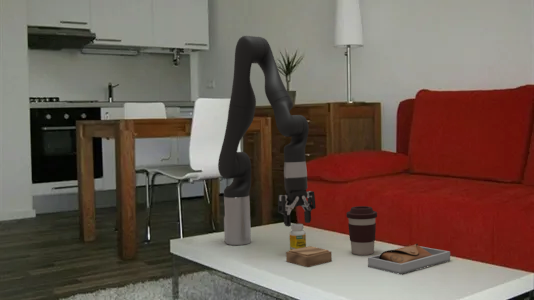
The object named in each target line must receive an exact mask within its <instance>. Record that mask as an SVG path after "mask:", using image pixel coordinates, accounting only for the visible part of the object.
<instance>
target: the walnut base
mask: <svg viewBox="0 0 534 300" xmlns="http://www.w3.org/2000/svg"><path fill="white" fill-rule="evenodd" d="M285 254H286V255H285V257H286V260H285V261H286V262H287V263H291V264H294V265H298V266H301V267H307V268H310V267H313V266H317V265H321V264H322V265H323V264H327V263H330V262H333V261H332V259H333V258H332V257H333V256H332V251H329V249H324V248H321V247H316V246H310V245H309V246H308V245H307V246H306V247H303V248H298V249H293V250H288V251H285Z"/></svg>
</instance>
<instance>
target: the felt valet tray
mask: <svg viewBox="0 0 534 300" xmlns="http://www.w3.org/2000/svg"><path fill="white" fill-rule="evenodd" d="M419 246H420V245H419ZM420 247H421V248H423V249H424V250H426V251H427V252H429V253H430V254H432V256H428V257H424V258H420V259H417V260H413V261H409V262H405V263H402V264H400V263H395V262H390V261H386V260H381V259H379V256H380V255H381V254H382V253H380V254H375V255H372V256H368V257H367V267H368V268H371V269H376V270H381V271H384V270H385V272H388V271H390V272H389V273H393V272H394V273H393V274H397V273H399V274H398V275H401V274H402V275H404V274H403V273H405V274H407V273H406V272H409V271H412V272H414V271H413V270H416V269H419V270H421V269H420V268H423V269H425V268H424V267H426V268H428V267H427V266H430V267H432V266H431V265H434V266H436V265H435V264H437V265H439V263H441V264H444V263H447V261H448V262H450V261H451V251H449V250H444V249H439V248H438V249H437V248H430V247H427V246H426V247H425V246H420ZM443 262H444V263H443ZM416 271H417V270H416ZM409 273H410V272H409Z"/></svg>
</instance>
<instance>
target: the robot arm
mask: <svg viewBox="0 0 534 300" xmlns="http://www.w3.org/2000/svg"><path fill="white" fill-rule="evenodd" d="M233 62H234V65H233V66H234V67H233V77H232V79H233V80H232V87H231V95H230V100H229V105H228V112H227V119H226V124H225V125H226V127H225V132H224V137H223V141H222V144H221V149H220V153H219V156H218V163H217V166H218V167H217V168H218V173H219V175H220V176H221V177H222V178H224V179H232V181H231V184H229V185H228V186H227V187H225V188H224V190H223V201H224V203H223V204H224V216H223V229H224V230H223V231H224V233H223V234H224V243H225V244H226V245H230V246H242V245H249V244H251V243H252V234H251V233H252V229H251V228H252V227H251V226H252V225H251V203H250V190H251V189H252V188H251V186H252V163H251V162H252V161H251V159H250V156H249V155H248V153H246V152H245V151H238V148H239V145H240V143H241V140H242V139H243V137H244V136H245V134H246V133H247V131H248V130H249V128H250V127H251V125H252V124H253V121H254V119H255V112H256V105H257V101H256V100H257V99H256V95H255V91H254V89H253V86H252V83H251V71H252V64H257V65H258V66H259V68H260V69H261V71H262V73H263V77H264V93H265V95H266V98H267V101H268V103H269V104H270V106H271V108H272V111H273V114H274V115H273V116H274V119H275V124H276V128H277V130H278V132H279V133H280V134H281V135H282V136H283V137H286V138H287V137H288V138H289V137H290V139H291V140H290V143H288V144H286V145H284V147H283V159H284V160H283V163H284V165H283V177H284V179H283V180H284V190H285V194H284V195H283V194H279V195H277V213H279V214H281V215H283V225H284V226H285V227H291V225H292V222H291V213H292V210H294V208H297V207H302V209H303V210H304V213H303V216H304V223H306V224H307V223H308V224H309V223H311V221H312V211H313V210H315V209H316V198H315V197H316V195H315V191H313V190H308V187H309V186H308V171H307V169H308V168H307V162H306V161H307V160H306V147H307V142H308V136H309V130H310V129H309V127H310V126H309V123H308V120H307V118H306V117H305V116H304V115H301V114H293V115H292V114H291V113H290V111H291V110H292V109H293V107H294V102H293V100H292V98H291V96H290V94H289V92H288V90H287V89H286V86H285V85H284V84H285V83H284V82H283V80H282V78H281V75H280V72H279V69H278V66H277V62H276V59H275V57H274V53H273V51H272V48H271V45H270V43H269V41H268V40H267V39H266V38H265V37H262V36H253V35H242V36H241V37H240V38H239V39H238V40H237V42H236V46H235V50H234V61H233Z"/></svg>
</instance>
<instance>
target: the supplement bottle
mask: <svg viewBox="0 0 534 300" xmlns="http://www.w3.org/2000/svg"><path fill="white" fill-rule="evenodd" d="M290 228H291V231H290V232H289V249H290V250H293V249H298V248H303V247H307V235H306V231H305V230H304V224H303V223H293V224H292V223H291V226H290Z"/></svg>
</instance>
